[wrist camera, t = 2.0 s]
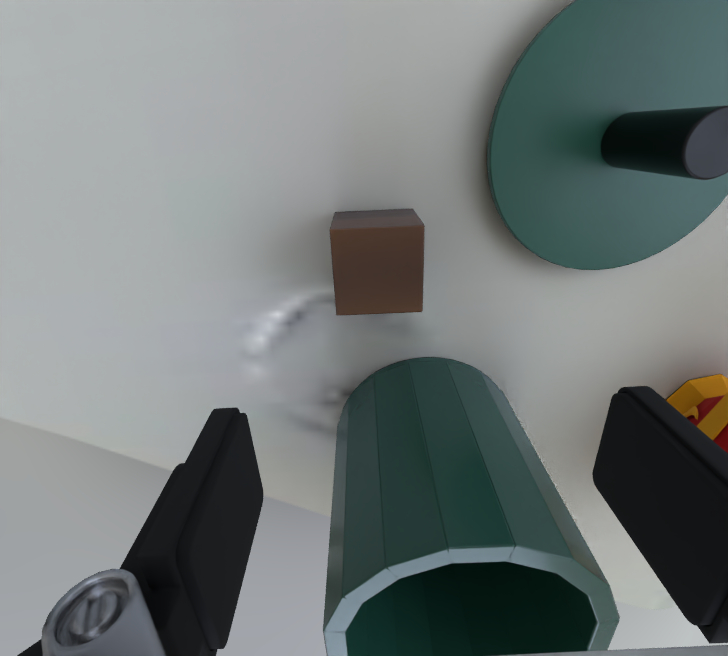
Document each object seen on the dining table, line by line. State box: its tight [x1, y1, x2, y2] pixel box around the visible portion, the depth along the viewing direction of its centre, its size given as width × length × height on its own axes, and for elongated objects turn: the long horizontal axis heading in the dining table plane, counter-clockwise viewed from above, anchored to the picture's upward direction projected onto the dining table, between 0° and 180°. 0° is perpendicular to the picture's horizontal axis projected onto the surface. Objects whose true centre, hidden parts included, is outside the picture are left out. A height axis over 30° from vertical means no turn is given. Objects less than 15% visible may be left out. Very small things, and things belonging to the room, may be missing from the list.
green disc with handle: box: [487, 0, 728, 270], centre depth 17 cm, size 13×13×7 cm
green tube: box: [323, 357, 620, 656], centre depth 22 cm, size 12×12×13 cm
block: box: [330, 209, 425, 315], centre depth 21 cm, size 4×4×4 cm
